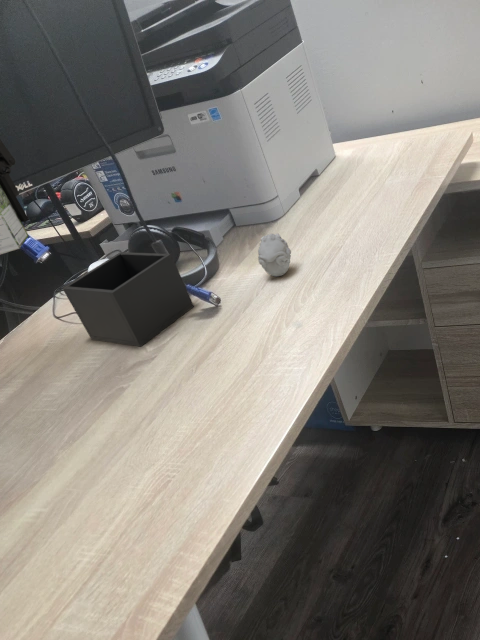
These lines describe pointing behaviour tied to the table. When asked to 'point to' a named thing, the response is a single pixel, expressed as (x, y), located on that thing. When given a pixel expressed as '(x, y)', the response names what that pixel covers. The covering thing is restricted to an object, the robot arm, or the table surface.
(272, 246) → the grey decorated egg
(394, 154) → the table surface
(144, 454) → the table surface
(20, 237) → the syrup box
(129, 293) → the open box
